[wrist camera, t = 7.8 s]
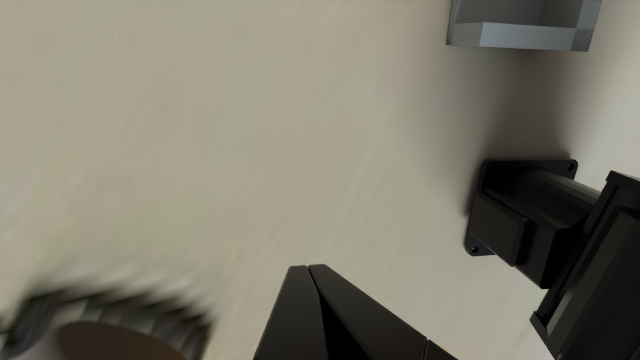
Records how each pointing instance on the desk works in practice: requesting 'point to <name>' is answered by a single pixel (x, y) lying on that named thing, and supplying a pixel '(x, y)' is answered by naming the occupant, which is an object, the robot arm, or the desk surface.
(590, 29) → the tray
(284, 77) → the desk surface
